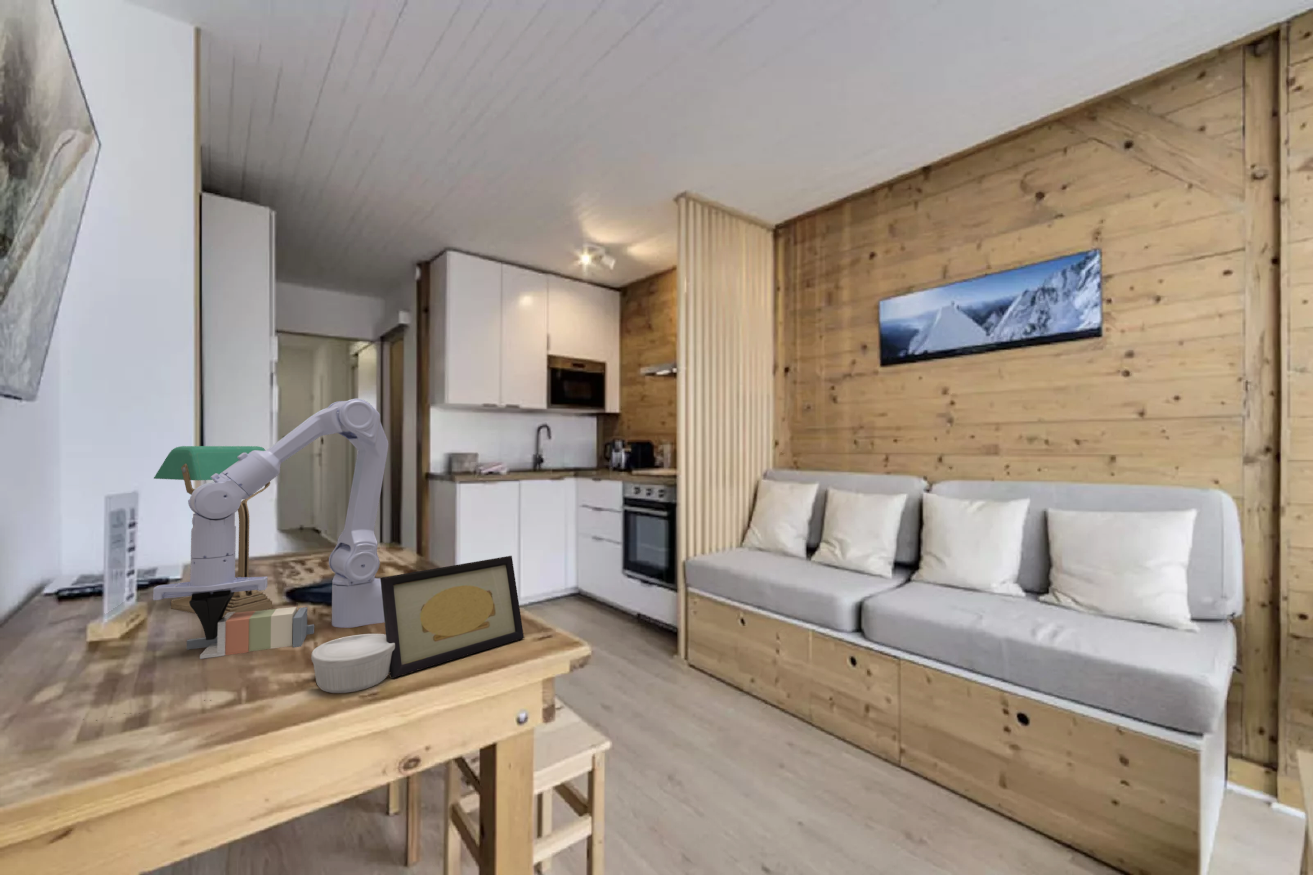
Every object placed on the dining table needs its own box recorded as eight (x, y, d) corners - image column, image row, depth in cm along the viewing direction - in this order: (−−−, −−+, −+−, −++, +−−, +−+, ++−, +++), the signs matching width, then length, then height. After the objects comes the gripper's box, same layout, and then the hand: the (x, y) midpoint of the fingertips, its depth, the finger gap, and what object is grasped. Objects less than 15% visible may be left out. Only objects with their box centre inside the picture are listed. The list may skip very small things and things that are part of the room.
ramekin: (377, 659, 89) (377, 627, 89) (409, 678, 81) (409, 643, 82) (299, 682, 80) (299, 647, 80) (327, 705, 73) (328, 666, 73)
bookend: (234, 644, 92) (235, 611, 92) (224, 655, 87) (225, 621, 87) (210, 647, 90) (211, 614, 91) (199, 658, 85) (200, 624, 86)
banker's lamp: (208, 625, 105) (211, 446, 105) (145, 612, 112) (148, 446, 113) (288, 603, 119) (291, 446, 120) (228, 593, 127) (230, 446, 127)
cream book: (296, 637, 95) (296, 606, 95) (291, 646, 91) (292, 613, 91) (275, 640, 94) (276, 608, 94) (270, 649, 90) (271, 616, 90)
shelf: (314, 638, 98) (314, 605, 98) (307, 653, 91) (307, 617, 91) (188, 654, 90) (188, 618, 90) (169, 672, 83) (170, 633, 83)
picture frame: (393, 679, 81) (390, 578, 82) (371, 669, 87) (368, 575, 88) (524, 639, 98) (520, 556, 99) (498, 633, 104) (494, 554, 105)
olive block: (276, 640, 94) (276, 608, 94) (270, 649, 90) (271, 616, 90) (255, 643, 93) (255, 611, 93) (248, 651, 89) (249, 618, 89)
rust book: (255, 642, 93) (256, 610, 93) (248, 652, 88) (248, 619, 89) (234, 645, 92) (234, 612, 92) (225, 655, 87) (226, 621, 87)
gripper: (271, 547, 95) (270, 624, 95) (166, 554, 89) (164, 636, 89) (262, 555, 89) (261, 637, 89) (148, 562, 83) (146, 651, 82)
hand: (211, 637), depth 88 cm, fingers closed
